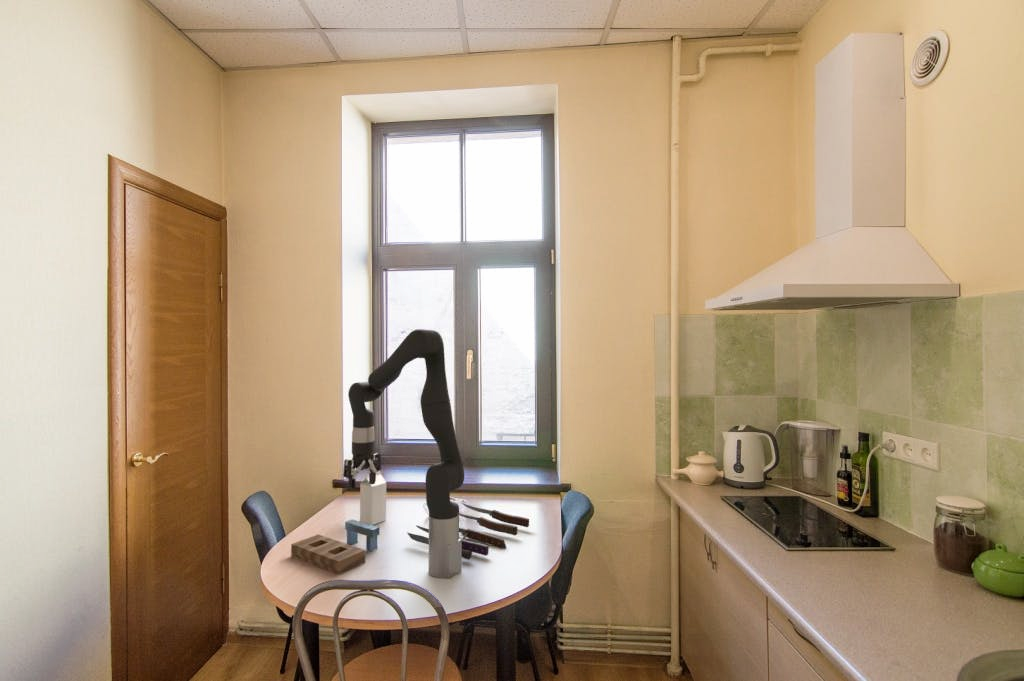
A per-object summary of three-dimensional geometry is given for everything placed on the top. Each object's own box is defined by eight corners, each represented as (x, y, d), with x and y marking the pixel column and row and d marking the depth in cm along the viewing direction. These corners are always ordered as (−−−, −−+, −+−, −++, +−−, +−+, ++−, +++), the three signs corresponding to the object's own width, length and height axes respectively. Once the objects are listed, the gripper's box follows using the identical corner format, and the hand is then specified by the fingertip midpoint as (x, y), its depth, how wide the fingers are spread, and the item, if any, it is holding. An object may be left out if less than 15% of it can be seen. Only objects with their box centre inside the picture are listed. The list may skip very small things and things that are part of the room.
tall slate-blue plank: (379, 549, 164) (379, 527, 164) (372, 552, 161) (372, 530, 161) (351, 540, 171) (352, 519, 171) (344, 543, 169) (345, 521, 169)
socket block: (365, 562, 153) (365, 549, 153) (338, 574, 145) (338, 561, 145) (317, 546, 166) (318, 534, 166) (291, 556, 158) (291, 544, 158)
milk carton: (386, 520, 192) (386, 472, 192) (371, 525, 186) (372, 476, 186) (374, 517, 196) (374, 469, 196) (359, 522, 190) (360, 473, 190)
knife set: (460, 512, 198) (461, 493, 197) (530, 532, 181) (531, 511, 180) (399, 544, 168) (400, 522, 167) (477, 571, 151) (477, 546, 150)
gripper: (353, 444, 159) (352, 493, 159) (386, 437, 171) (385, 483, 171) (338, 441, 163) (338, 489, 163) (371, 435, 175) (371, 480, 175)
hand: (362, 486), depth 167 cm, fingers open, 8 cm apart
